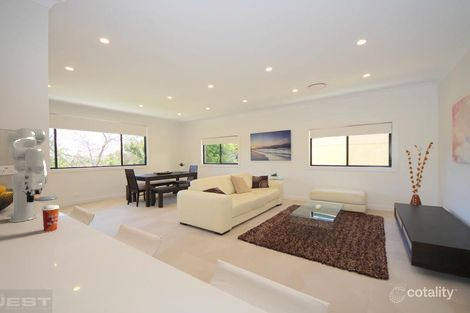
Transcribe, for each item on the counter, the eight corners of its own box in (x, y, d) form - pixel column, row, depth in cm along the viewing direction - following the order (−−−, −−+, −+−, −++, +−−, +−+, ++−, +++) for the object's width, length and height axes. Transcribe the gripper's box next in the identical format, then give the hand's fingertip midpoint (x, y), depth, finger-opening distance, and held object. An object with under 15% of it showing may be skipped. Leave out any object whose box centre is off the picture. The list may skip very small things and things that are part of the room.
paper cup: (50, 232, 116) (51, 208, 116) (37, 232, 116) (37, 207, 116) (62, 227, 124) (63, 204, 124) (50, 227, 124) (50, 204, 124)
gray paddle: (61, 197, 125) (61, 193, 125) (49, 201, 115) (49, 196, 115) (36, 197, 123) (36, 193, 123) (21, 201, 113) (21, 196, 113)
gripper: (28, 171, 110) (28, 205, 111) (52, 168, 127) (51, 198, 127) (13, 170, 109) (12, 205, 110) (38, 168, 126) (38, 198, 126)
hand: (33, 200), depth 119 cm, fingers closed on gray paddle, 3 cm apart
